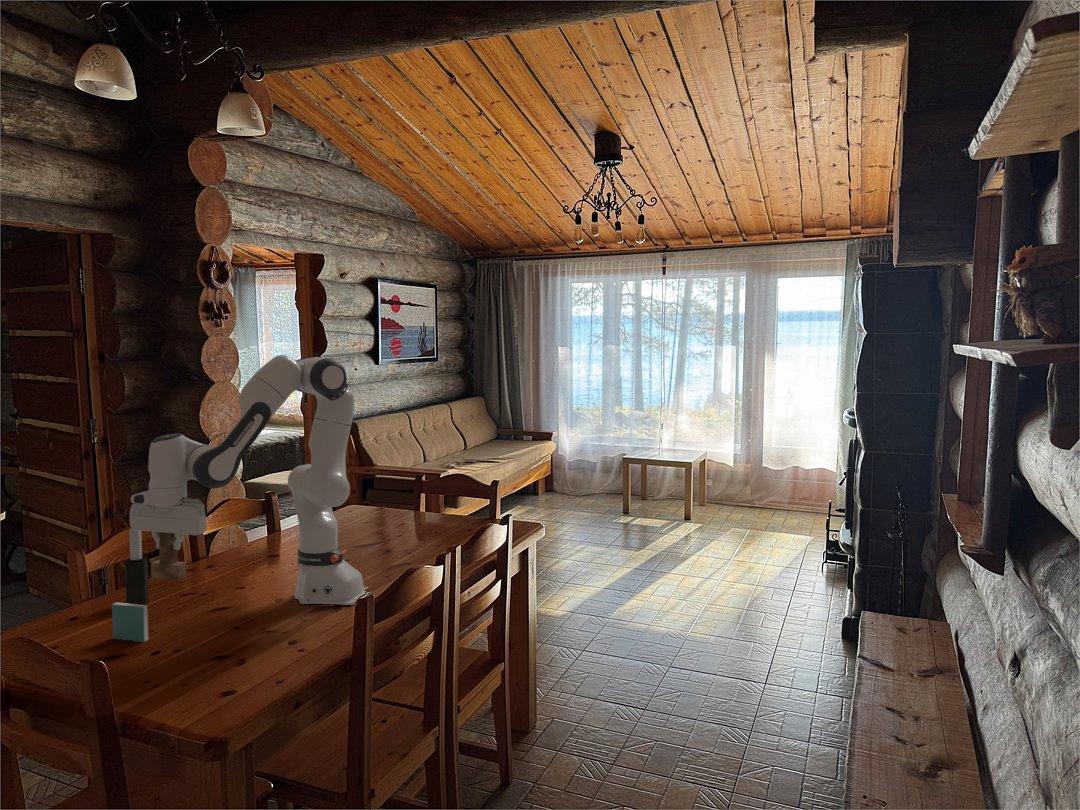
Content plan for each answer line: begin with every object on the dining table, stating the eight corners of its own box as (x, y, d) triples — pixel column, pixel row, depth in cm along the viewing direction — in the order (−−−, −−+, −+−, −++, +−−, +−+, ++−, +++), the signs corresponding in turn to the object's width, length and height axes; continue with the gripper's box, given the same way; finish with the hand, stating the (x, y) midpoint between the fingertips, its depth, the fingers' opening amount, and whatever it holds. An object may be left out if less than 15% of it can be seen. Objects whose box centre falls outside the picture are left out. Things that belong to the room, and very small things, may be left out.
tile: (148, 639, 181) (147, 605, 181) (143, 642, 180) (142, 607, 179) (117, 636, 183) (116, 602, 182) (112, 638, 182) (111, 604, 181)
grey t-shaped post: (186, 577, 187) (185, 524, 186) (178, 580, 184) (178, 527, 183) (159, 574, 188) (158, 522, 187) (151, 577, 186) (150, 525, 184)
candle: (129, 601, 207) (126, 517, 204) (148, 600, 208) (146, 516, 206) (125, 608, 202) (122, 521, 200) (146, 606, 204) (143, 520, 201)
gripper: (211, 496, 186) (212, 548, 187) (142, 491, 190) (143, 542, 191) (195, 501, 180) (196, 555, 181) (125, 496, 183) (125, 548, 185)
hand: (168, 548), depth 186 cm, fingers closed on grey t-shaped post, 3 cm apart
